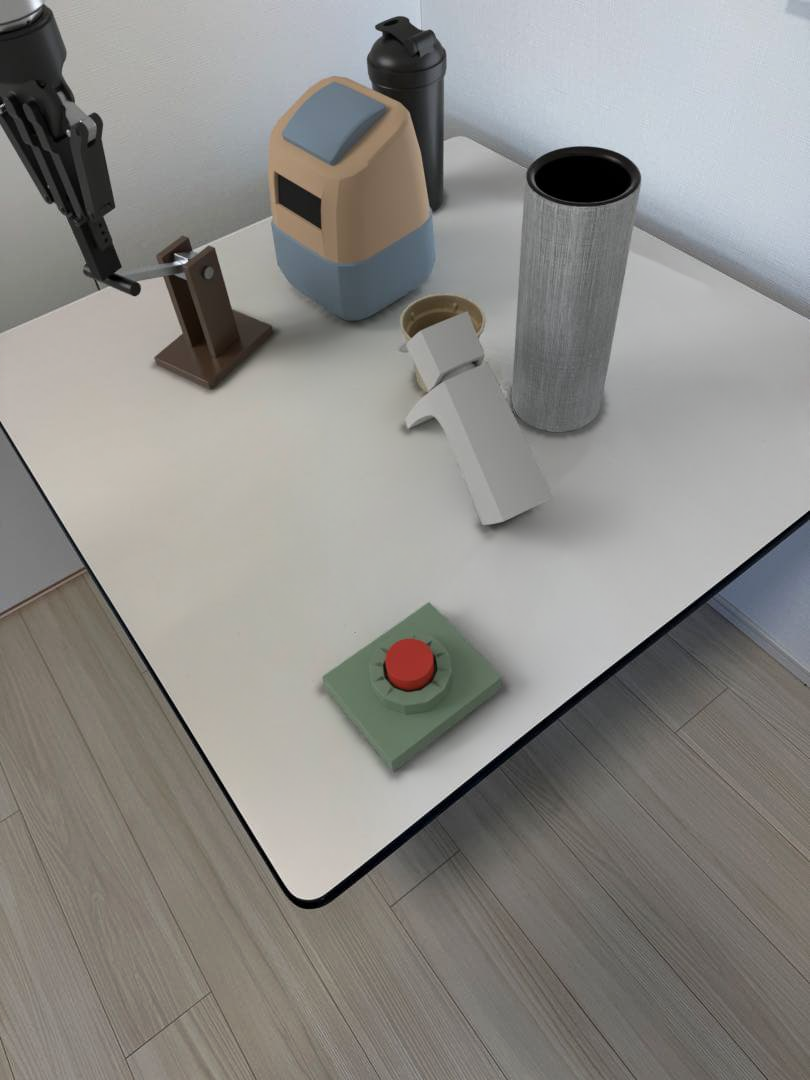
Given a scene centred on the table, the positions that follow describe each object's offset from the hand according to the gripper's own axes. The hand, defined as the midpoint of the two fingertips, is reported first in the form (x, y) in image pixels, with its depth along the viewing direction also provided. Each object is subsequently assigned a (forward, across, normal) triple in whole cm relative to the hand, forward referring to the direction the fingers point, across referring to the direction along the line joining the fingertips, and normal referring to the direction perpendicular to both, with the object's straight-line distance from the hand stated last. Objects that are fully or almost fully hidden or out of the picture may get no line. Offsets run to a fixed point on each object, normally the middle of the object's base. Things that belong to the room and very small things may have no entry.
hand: (107, 271), depth 83 cm
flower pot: (+18, -28, -20) cm, 38 cm away
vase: (+18, -41, -23) cm, 50 cm away
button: (+14, -47, +16) cm, 51 cm away
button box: (+17, -46, +16) cm, 52 cm away
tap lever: (+4, 0, -5) cm, 7 cm away
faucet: (+18, -38, -9) cm, 42 cm away
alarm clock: (+18, -8, -30) cm, 36 cm away
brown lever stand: (+17, 0, -10) cm, 20 cm away
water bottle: (+18, -4, -50) cm, 53 cm away
